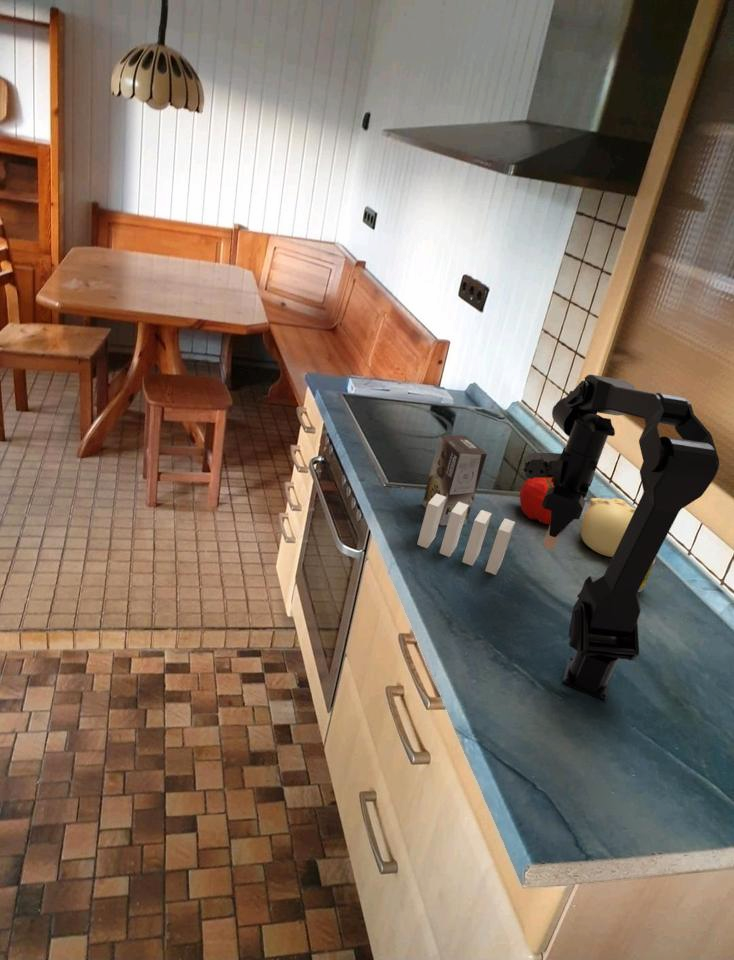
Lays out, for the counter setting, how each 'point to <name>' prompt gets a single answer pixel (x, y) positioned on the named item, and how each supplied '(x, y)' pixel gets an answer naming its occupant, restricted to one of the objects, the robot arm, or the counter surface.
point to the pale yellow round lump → (605, 524)
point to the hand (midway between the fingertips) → (554, 530)
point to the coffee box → (455, 473)
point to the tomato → (536, 499)
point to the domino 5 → (550, 540)
